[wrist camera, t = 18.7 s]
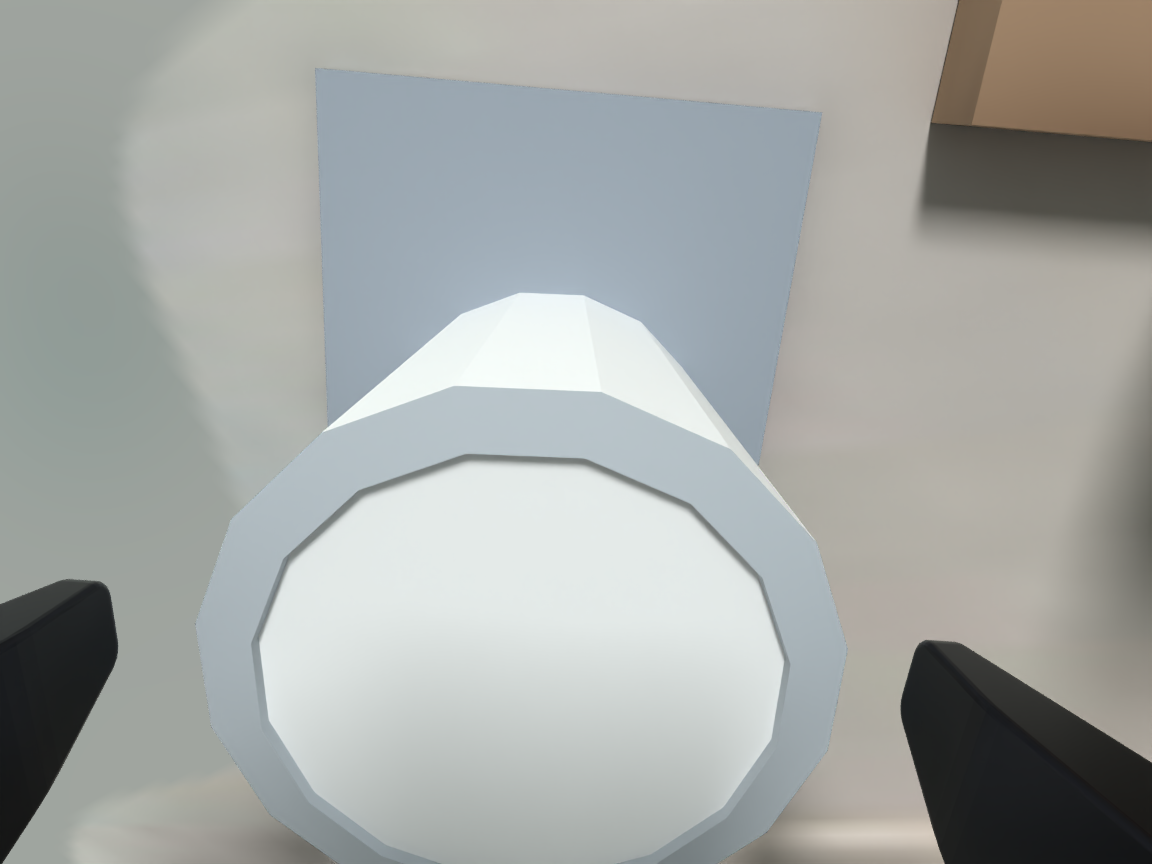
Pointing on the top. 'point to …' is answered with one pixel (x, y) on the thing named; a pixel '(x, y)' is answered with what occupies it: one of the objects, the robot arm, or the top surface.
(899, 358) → the top surface
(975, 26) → the stand
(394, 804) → the white tapered cup
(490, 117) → the slate mat
